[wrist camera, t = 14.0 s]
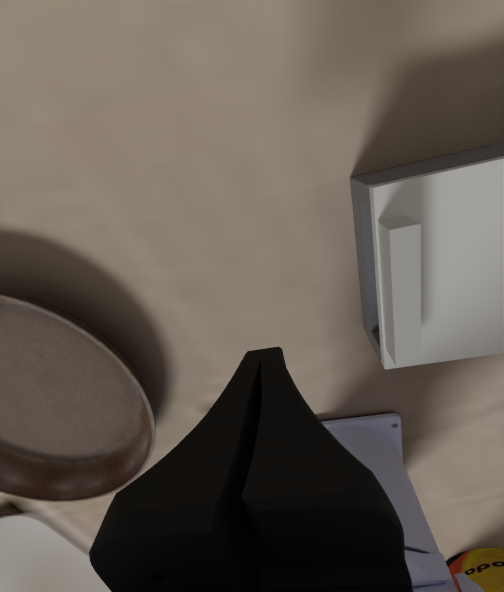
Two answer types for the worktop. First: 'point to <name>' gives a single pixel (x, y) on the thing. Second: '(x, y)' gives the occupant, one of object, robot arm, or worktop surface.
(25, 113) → the worktop surface
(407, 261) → the lid
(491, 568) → the yellow tin can
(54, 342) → the plant saucer
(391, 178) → the housing
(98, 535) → the robot arm
